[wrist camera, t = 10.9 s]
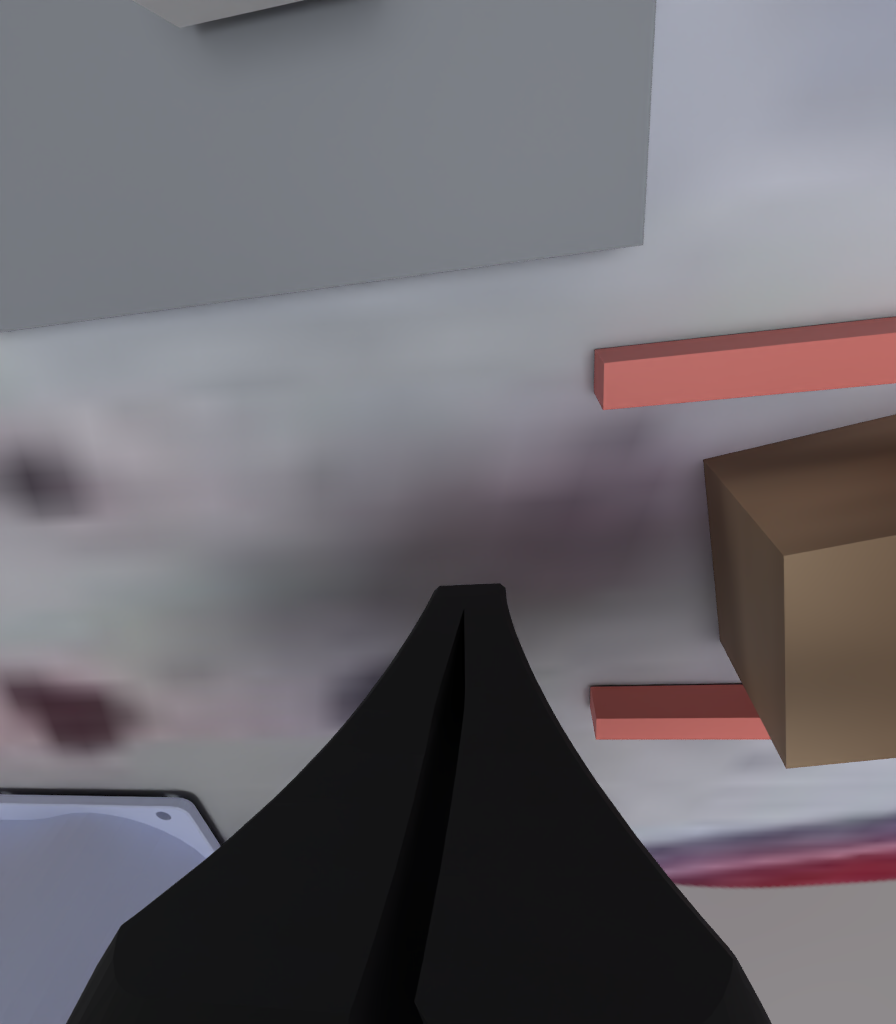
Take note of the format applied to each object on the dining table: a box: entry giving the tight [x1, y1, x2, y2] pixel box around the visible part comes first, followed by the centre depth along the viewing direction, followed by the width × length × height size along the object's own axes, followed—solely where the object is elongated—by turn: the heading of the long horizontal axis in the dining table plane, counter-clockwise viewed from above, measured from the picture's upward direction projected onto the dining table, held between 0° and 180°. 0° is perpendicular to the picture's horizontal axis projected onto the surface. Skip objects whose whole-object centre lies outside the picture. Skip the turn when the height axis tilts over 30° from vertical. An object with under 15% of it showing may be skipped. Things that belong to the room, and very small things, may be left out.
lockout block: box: [703, 415, 896, 769], centre depth 9 cm, size 5×5×4 cm
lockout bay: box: [590, 317, 896, 739], centre depth 10 cm, size 9×10×1 cm
